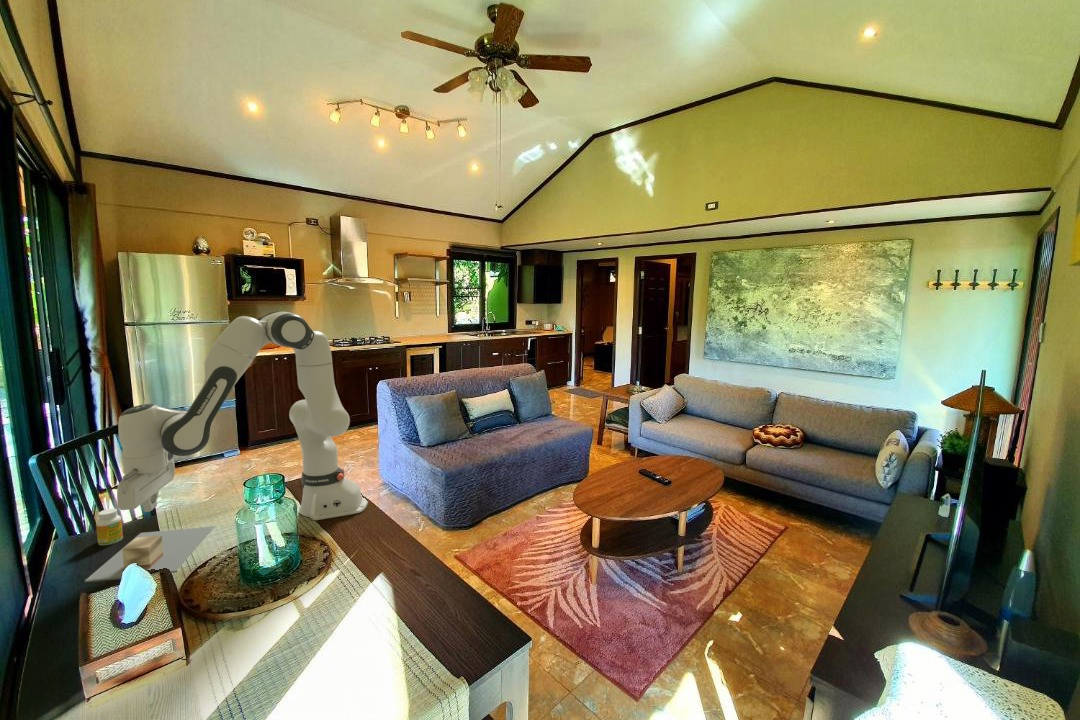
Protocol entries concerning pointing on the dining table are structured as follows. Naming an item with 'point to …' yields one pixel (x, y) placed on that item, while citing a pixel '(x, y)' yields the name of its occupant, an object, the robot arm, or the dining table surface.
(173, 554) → the slate mat
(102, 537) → the supplement bottle
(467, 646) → the dining table surface
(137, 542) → the birch block
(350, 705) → the dining table surface
